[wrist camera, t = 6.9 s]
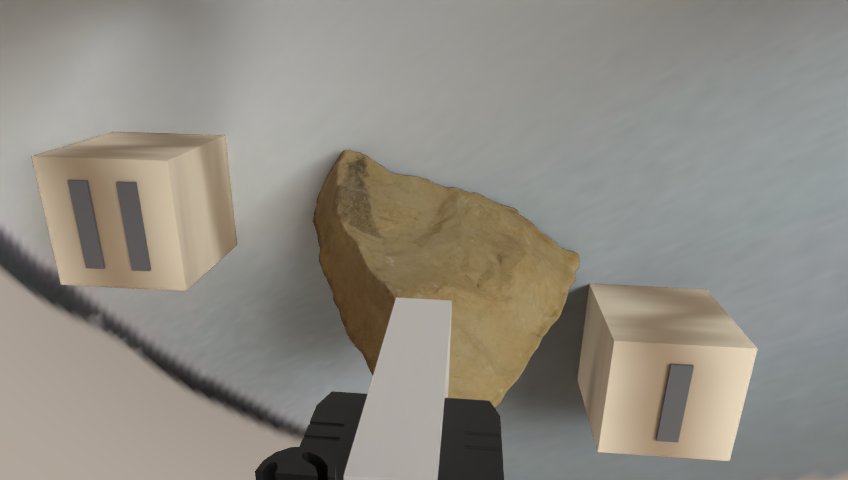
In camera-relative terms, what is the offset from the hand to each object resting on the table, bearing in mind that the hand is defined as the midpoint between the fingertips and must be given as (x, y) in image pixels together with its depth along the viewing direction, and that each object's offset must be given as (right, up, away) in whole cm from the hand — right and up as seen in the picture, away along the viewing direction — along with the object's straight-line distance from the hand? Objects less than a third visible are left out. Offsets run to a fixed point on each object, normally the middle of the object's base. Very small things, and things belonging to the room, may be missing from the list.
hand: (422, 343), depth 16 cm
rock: (+1, +4, +9) cm, 10 cm away
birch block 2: (+10, -2, +10) cm, 14 cm away
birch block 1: (-11, +5, +10) cm, 16 cm away
